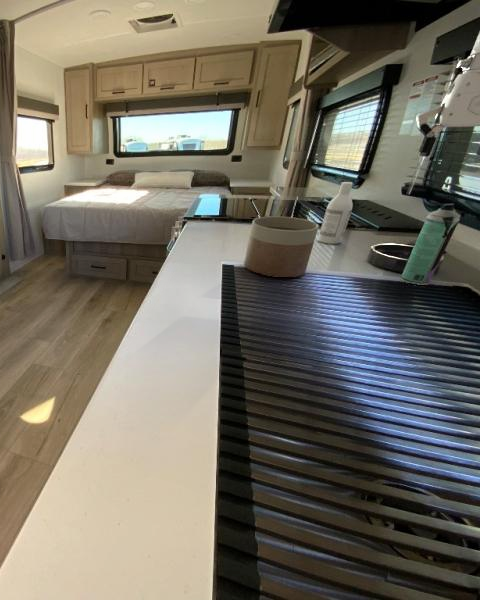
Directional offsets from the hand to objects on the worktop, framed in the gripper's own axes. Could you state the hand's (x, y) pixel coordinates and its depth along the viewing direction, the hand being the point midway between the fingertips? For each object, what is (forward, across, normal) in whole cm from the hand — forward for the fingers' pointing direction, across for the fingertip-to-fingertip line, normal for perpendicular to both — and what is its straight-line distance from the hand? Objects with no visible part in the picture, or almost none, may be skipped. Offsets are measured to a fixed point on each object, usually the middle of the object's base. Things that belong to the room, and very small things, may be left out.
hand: (452, 155), depth 74 cm
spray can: (+31, +3, -1) cm, 31 cm away
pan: (+30, +4, +12) cm, 33 cm away
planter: (+31, -30, -3) cm, 43 cm away
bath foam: (+31, -11, +32) cm, 45 cm away
